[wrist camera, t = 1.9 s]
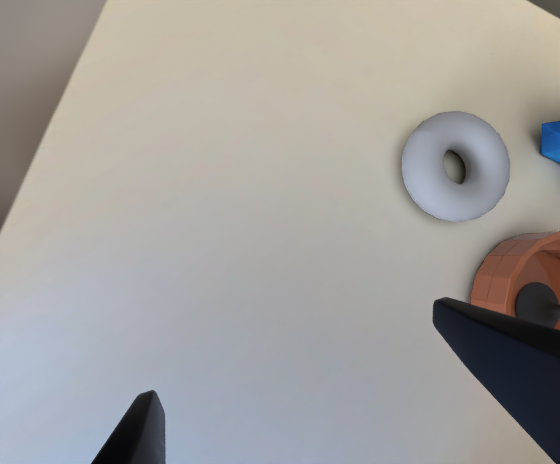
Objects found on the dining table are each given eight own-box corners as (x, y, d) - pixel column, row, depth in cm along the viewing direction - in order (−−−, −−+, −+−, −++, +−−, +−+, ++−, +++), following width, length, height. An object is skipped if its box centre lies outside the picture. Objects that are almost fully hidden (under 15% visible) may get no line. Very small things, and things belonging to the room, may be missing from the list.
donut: (476, 236, 29) (496, 140, 30) (509, 234, 25) (530, 126, 26) (382, 205, 27) (407, 106, 28) (403, 199, 24) (431, 86, 25)
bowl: (596, 378, 30) (652, 396, 26) (470, 388, 27) (511, 411, 23) (584, 235, 31) (636, 232, 27) (462, 233, 28) (500, 230, 24)
